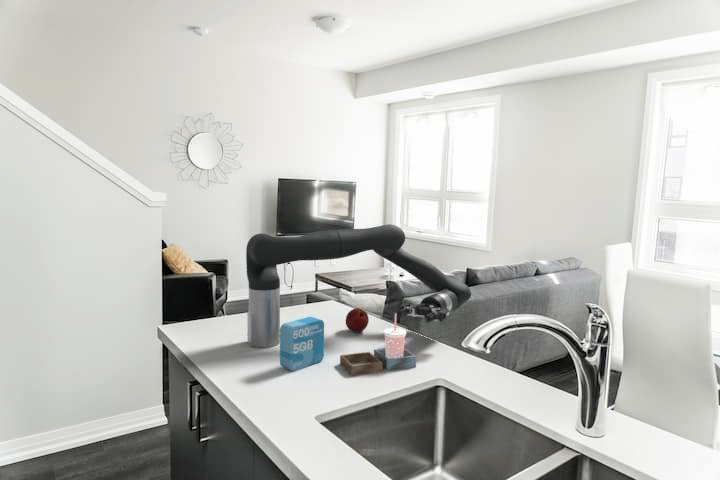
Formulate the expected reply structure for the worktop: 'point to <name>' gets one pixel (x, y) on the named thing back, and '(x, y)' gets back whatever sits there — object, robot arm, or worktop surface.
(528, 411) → the worktop surface
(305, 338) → the data package
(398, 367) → the cup dock
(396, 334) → the beverage cup
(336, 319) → the worktop surface
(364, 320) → the apple
